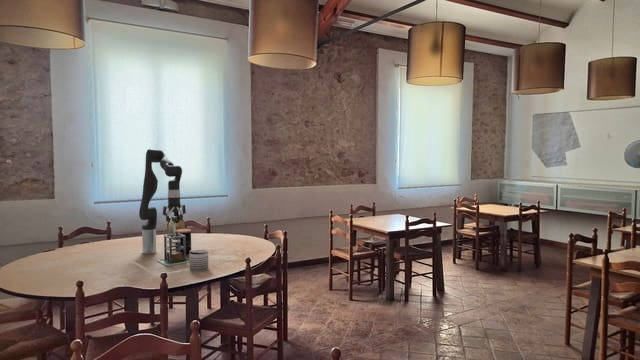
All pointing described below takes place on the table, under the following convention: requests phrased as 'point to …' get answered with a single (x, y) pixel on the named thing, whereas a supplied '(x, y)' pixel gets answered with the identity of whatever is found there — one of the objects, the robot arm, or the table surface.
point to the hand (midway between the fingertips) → (174, 221)
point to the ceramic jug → (176, 224)
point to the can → (198, 260)
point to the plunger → (174, 230)
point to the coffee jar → (188, 239)
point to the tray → (173, 263)
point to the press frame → (172, 254)
